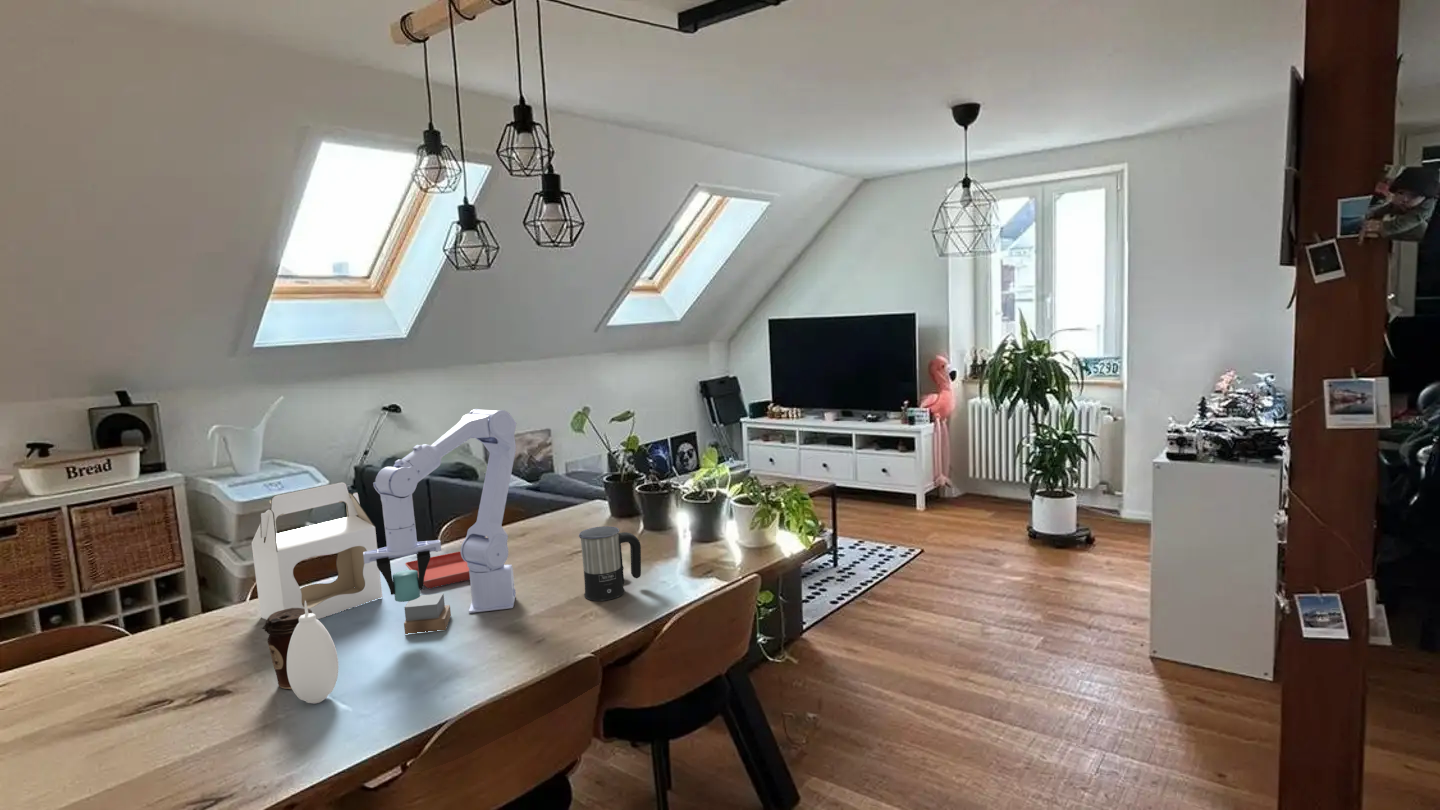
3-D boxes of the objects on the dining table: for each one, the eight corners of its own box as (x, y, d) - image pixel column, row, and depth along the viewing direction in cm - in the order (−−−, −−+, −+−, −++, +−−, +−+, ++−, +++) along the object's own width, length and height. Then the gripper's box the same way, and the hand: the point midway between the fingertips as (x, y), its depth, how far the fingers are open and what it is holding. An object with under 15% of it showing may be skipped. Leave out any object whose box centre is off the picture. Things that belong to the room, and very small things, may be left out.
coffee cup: (268, 697, 139) (259, 626, 137) (270, 679, 146) (262, 611, 144) (324, 684, 143) (316, 615, 141) (323, 667, 150) (315, 601, 148)
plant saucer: (497, 576, 199) (496, 564, 199) (423, 594, 189) (421, 580, 189) (475, 559, 214) (474, 548, 214) (405, 575, 204) (404, 562, 204)
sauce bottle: (289, 716, 132) (276, 612, 129) (293, 696, 139) (281, 597, 136) (341, 705, 135) (329, 603, 132) (342, 686, 142) (331, 589, 140)
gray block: (444, 606, 172) (443, 593, 171) (438, 618, 165) (436, 604, 165) (413, 609, 171) (412, 596, 171) (405, 621, 164) (404, 607, 164)
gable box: (356, 588, 195) (343, 476, 192) (384, 598, 187) (371, 481, 183) (259, 618, 178) (243, 496, 174) (285, 630, 170) (269, 502, 166)
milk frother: (597, 605, 175) (592, 539, 173) (561, 588, 187) (556, 527, 185) (649, 587, 184) (645, 525, 183) (612, 573, 196) (607, 514, 194)
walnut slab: (451, 618, 173) (449, 605, 173) (445, 632, 165) (444, 618, 165) (412, 622, 171) (411, 609, 171) (405, 637, 164) (403, 623, 163)
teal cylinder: (423, 592, 164) (420, 569, 164) (416, 600, 159) (413, 576, 159) (399, 594, 164) (397, 570, 163) (391, 602, 159) (388, 578, 159)
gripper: (436, 515, 166) (442, 578, 168) (360, 526, 161) (368, 591, 162) (439, 523, 160) (445, 588, 162) (360, 535, 154) (368, 602, 156)
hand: (407, 590), depth 162 cm, fingers closed on teal cylinder, 5 cm apart
